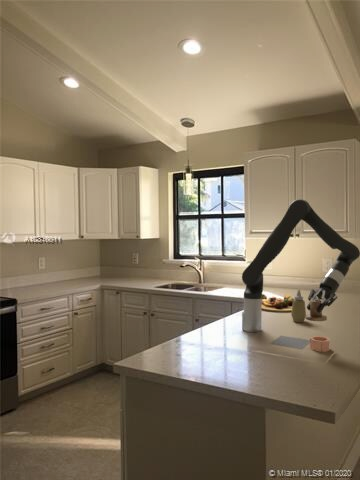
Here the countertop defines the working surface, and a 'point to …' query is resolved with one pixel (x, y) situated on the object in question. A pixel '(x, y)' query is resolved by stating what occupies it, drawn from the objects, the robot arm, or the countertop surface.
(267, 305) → the wooden plate with food
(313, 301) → the walnut lid
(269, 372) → the countertop surface
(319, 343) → the terracotta bowl
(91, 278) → the countertop surface
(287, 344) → the rubber mat
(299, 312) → the squeeze bottle
